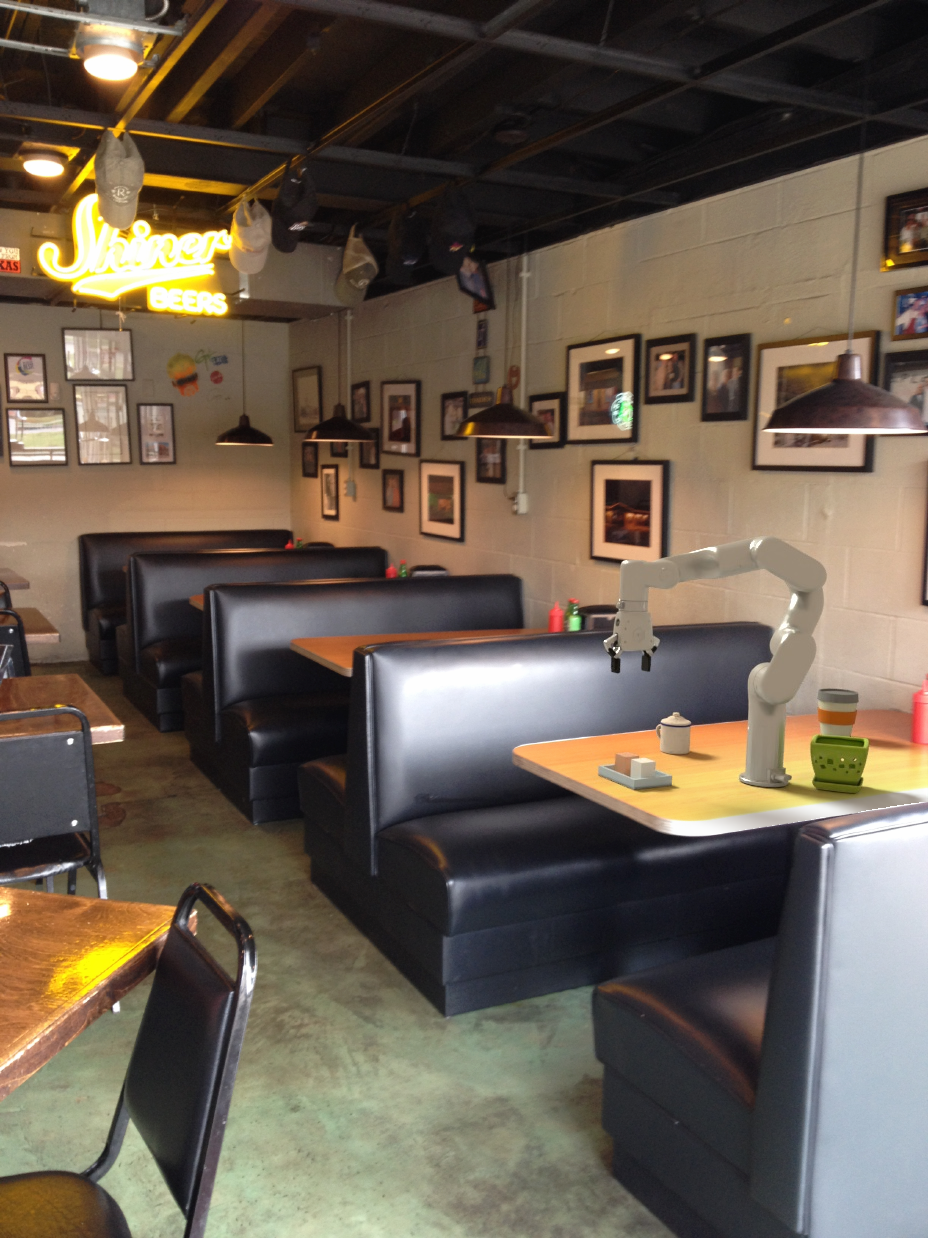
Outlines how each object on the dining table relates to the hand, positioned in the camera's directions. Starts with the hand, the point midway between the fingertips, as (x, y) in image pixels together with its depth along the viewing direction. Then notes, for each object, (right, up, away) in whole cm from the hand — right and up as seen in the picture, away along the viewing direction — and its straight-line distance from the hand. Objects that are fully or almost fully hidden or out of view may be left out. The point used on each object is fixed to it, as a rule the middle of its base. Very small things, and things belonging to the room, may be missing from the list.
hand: (630, 671), depth 268 cm
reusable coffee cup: (+76, -25, +61) cm, 100 cm away
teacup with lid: (+18, -26, +36) cm, 48 cm away
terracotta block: (-1, -28, +3) cm, 28 cm away
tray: (+1, -29, 0) cm, 29 cm away
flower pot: (+53, -30, -3) cm, 61 cm away
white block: (+3, -28, -3) cm, 29 cm away
